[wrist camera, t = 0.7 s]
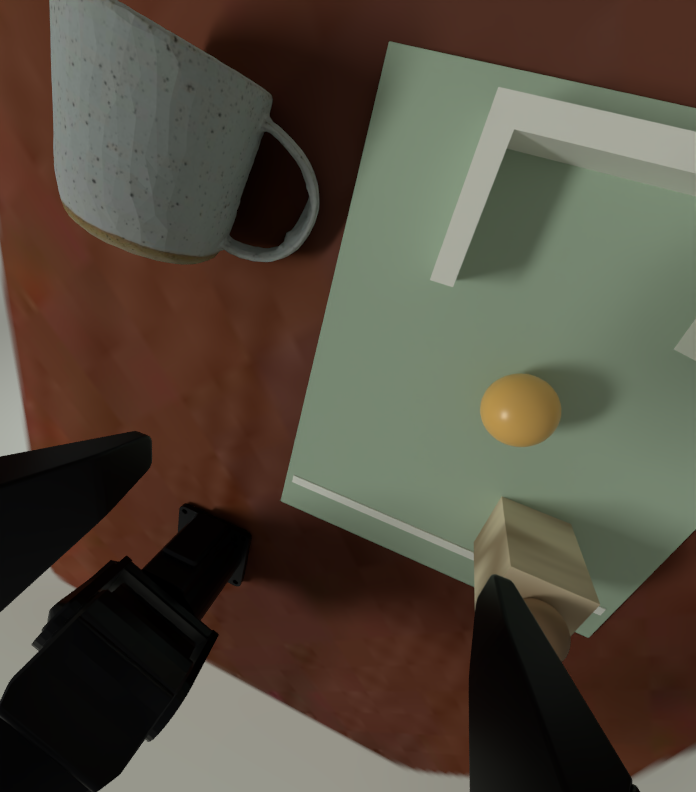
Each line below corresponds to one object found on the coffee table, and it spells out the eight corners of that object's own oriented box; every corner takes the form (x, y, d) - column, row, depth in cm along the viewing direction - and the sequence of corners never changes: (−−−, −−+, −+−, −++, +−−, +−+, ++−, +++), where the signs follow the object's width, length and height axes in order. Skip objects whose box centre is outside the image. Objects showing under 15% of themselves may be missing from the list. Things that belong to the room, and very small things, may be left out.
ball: (532, 436, 19) (544, 472, 16) (468, 412, 20) (468, 443, 17) (566, 378, 18) (587, 407, 15) (496, 354, 18) (502, 377, 15)
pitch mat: (586, 631, 24) (589, 639, 23) (283, 497, 27) (280, 501, 27) (1020, 184, 12) (1041, 182, 12) (390, 45, 15) (388, 40, 15)
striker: (536, 569, 22) (565, 705, 16) (473, 542, 23) (476, 663, 16) (570, 524, 21) (619, 657, 14) (501, 496, 21) (516, 611, 15)
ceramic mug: (140, 207, 22) (-7, 194, 15) (167, 36, 18) (-15, -88, 11) (294, 295, 21) (215, 323, 14) (356, 138, 17) (288, 75, 10)
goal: (697, 357, 16) (743, 380, 13) (435, 274, 18) (429, 280, 15) (821, 192, 13) (911, 180, 10) (492, 114, 15) (498, 86, 12)
